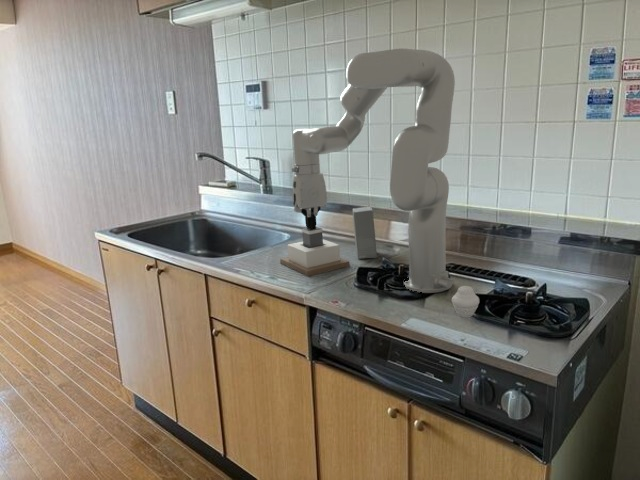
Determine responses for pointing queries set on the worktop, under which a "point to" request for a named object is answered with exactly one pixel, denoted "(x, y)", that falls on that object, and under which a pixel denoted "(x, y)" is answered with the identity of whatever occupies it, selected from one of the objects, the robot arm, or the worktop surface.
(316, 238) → the plug
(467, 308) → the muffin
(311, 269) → the socket
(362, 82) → the robot arm
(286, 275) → the worktop surface
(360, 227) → the skincare box
